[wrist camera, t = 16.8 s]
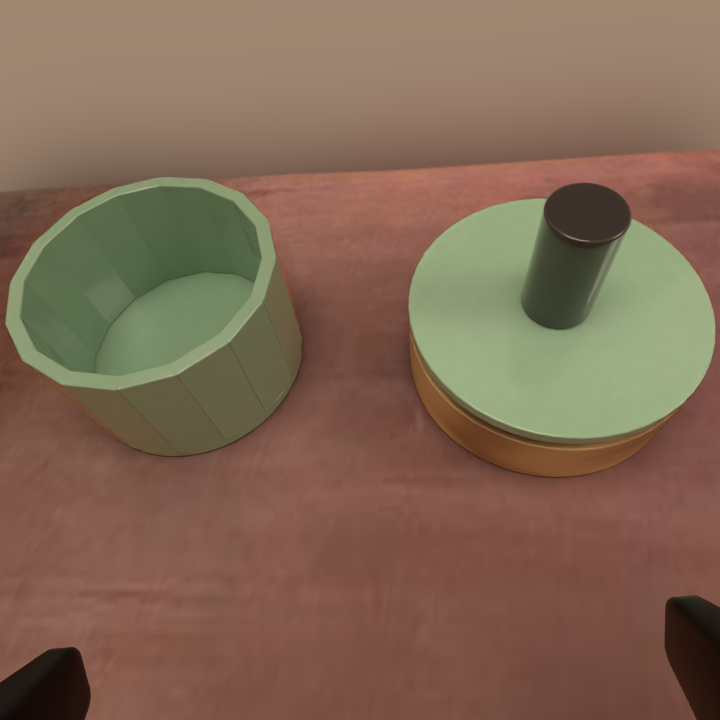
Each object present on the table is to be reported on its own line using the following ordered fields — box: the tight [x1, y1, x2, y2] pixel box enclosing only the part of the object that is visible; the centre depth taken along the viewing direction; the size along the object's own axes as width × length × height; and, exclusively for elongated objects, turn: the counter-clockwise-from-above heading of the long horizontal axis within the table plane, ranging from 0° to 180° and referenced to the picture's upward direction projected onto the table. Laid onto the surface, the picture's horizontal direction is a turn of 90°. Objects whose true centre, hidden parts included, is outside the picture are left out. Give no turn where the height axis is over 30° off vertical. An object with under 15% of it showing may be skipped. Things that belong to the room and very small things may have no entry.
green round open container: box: [5, 177, 302, 456], centre depth 25 cm, size 11×11×7 cm
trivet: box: [409, 325, 682, 477], centre depth 25 cm, size 12×12×3 cm
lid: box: [408, 183, 716, 444], centre depth 21 cm, size 12×12×6 cm
